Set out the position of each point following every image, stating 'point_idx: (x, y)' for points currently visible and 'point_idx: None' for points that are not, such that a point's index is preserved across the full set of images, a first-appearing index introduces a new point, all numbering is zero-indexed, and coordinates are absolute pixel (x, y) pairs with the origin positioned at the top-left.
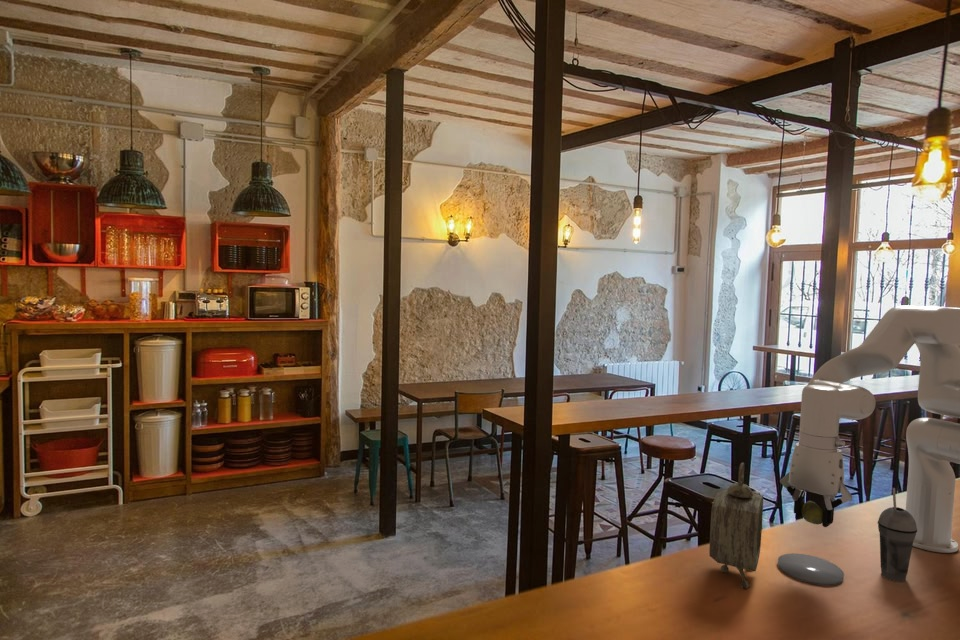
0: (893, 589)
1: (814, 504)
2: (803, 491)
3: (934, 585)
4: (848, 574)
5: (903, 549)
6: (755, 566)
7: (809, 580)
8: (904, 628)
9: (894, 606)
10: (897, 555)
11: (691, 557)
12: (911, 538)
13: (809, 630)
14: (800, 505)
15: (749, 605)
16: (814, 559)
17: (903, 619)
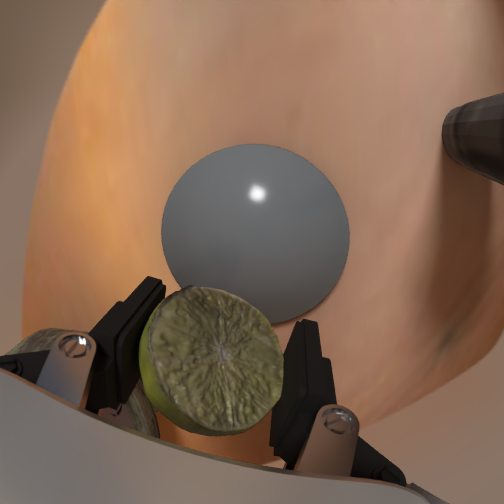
0: (458, 224)
1: (208, 434)
2: (82, 406)
3: None
4: (360, 191)
5: None
6: (155, 437)
7: None
8: (426, 389)
9: (438, 319)
10: None
11: (38, 320)
12: None
13: (276, 459)
14: (131, 382)
15: (183, 438)
16: (259, 173)
17: (436, 361)
